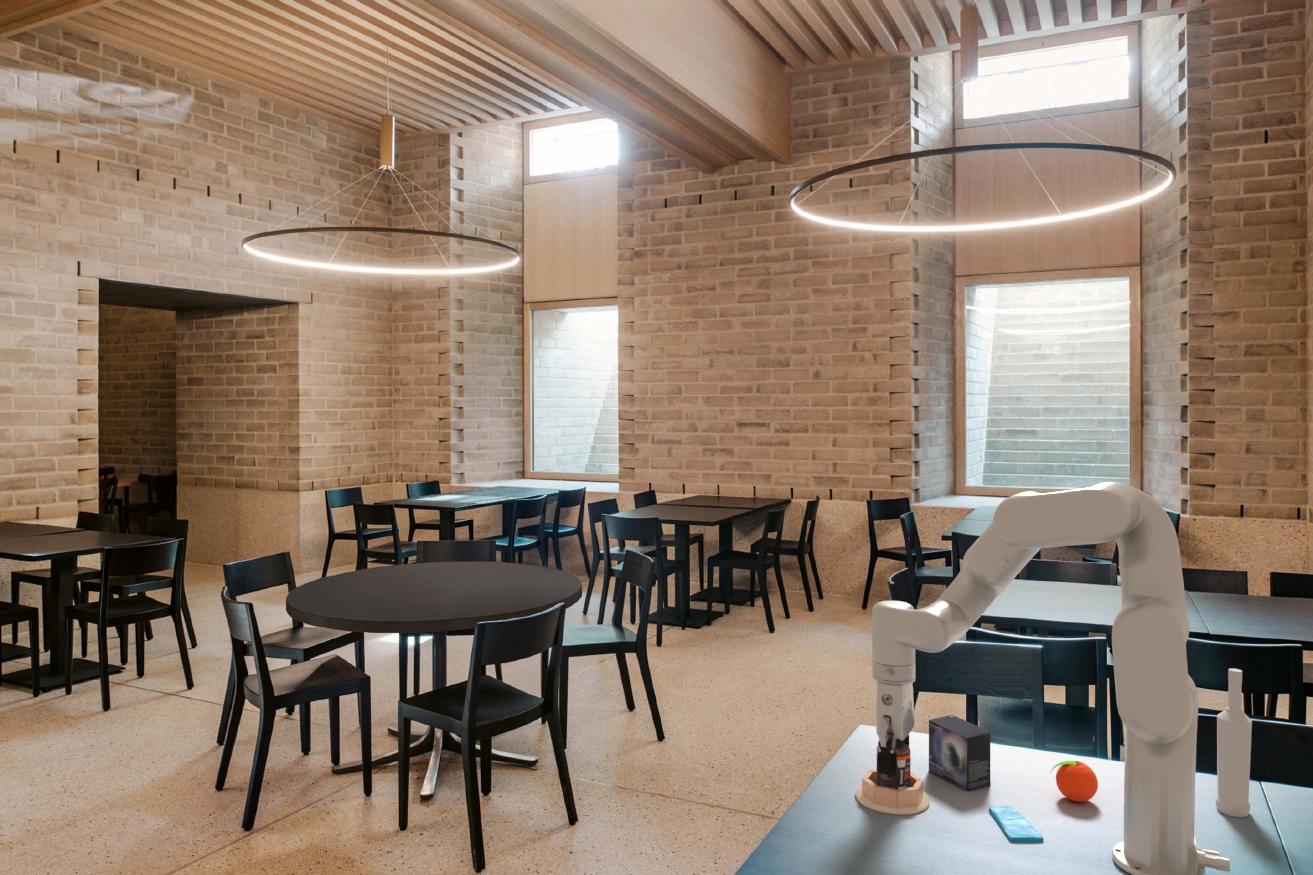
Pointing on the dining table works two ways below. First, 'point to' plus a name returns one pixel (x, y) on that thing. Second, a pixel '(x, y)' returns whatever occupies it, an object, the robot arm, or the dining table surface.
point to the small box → (959, 752)
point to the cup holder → (892, 796)
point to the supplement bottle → (902, 768)
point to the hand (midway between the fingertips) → (893, 764)
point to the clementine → (1076, 780)
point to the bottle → (1233, 752)
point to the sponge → (1014, 825)
